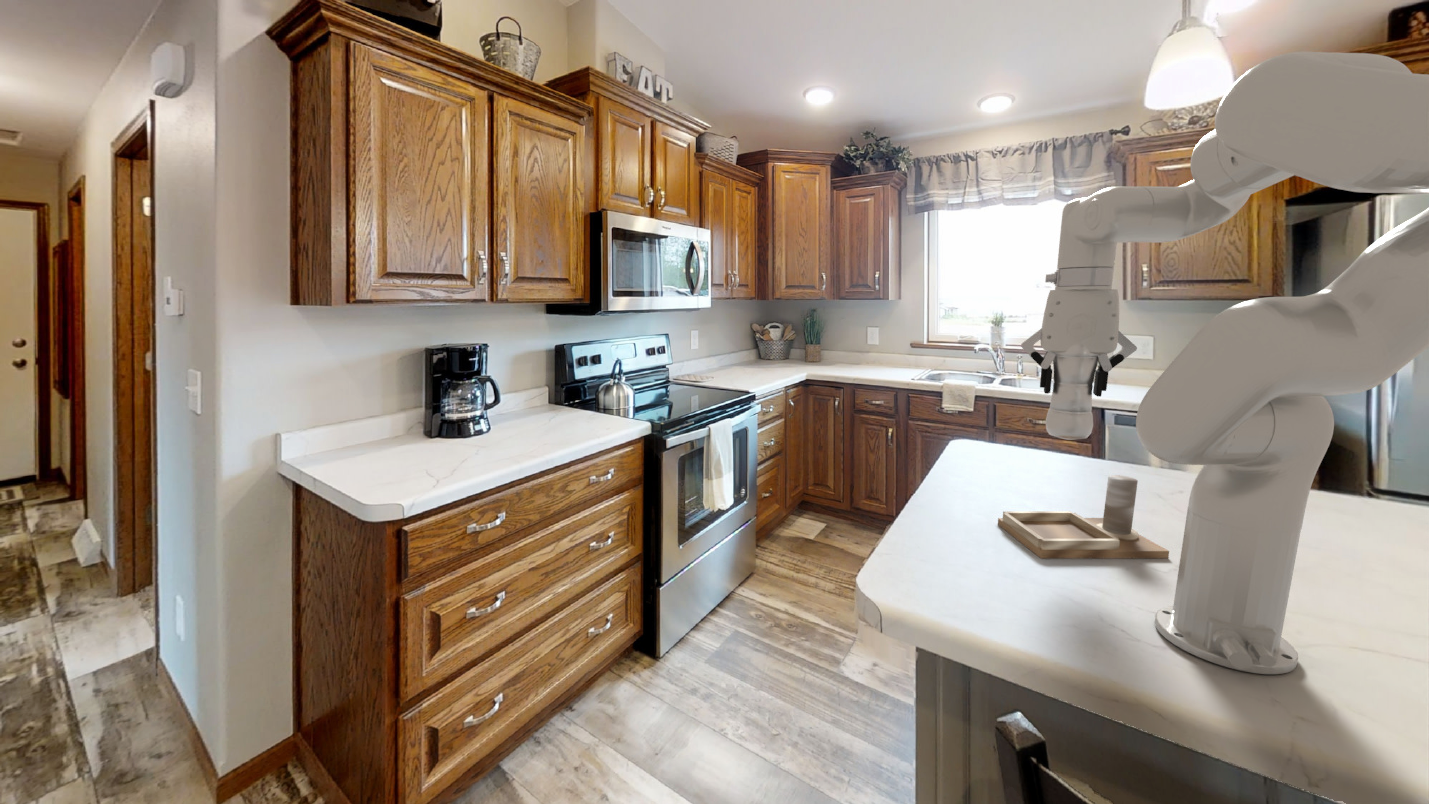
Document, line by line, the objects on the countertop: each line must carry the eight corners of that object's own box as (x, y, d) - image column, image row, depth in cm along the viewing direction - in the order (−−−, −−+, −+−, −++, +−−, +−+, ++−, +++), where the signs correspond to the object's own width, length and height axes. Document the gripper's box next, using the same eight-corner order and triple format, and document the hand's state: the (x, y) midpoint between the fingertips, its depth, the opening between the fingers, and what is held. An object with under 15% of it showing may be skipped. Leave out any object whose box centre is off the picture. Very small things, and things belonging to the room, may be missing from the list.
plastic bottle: (1098, 444, 90) (1114, 316, 86) (1051, 442, 91) (1065, 316, 88) (1081, 435, 96) (1095, 315, 92) (1037, 433, 97) (1049, 315, 94)
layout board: (1041, 558, 90) (1047, 492, 88) (997, 524, 103) (1002, 467, 101) (1168, 558, 89) (1177, 492, 88) (1107, 524, 103) (1114, 466, 101)
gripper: (1021, 281, 89) (1012, 393, 93) (1157, 278, 82) (1142, 401, 85) (1020, 282, 96) (1011, 387, 99) (1145, 280, 89) (1131, 394, 92)
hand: (1071, 392), depth 92 cm, fingers closed on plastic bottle, 6 cm apart
